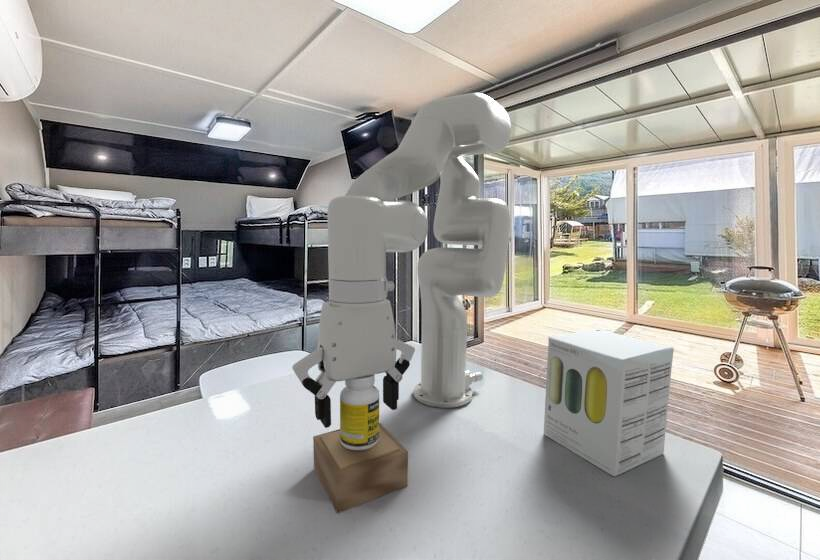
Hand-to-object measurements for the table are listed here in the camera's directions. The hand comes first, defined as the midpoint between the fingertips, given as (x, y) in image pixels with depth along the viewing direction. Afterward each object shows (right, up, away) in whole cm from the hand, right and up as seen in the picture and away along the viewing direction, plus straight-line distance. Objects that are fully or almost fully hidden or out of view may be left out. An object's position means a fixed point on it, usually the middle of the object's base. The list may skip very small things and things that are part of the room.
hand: (358, 414), depth 50 cm
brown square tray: (0, -9, +1) cm, 9 cm away
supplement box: (+39, -9, +10) cm, 41 cm away
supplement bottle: (0, -4, +1) cm, 4 cm away
